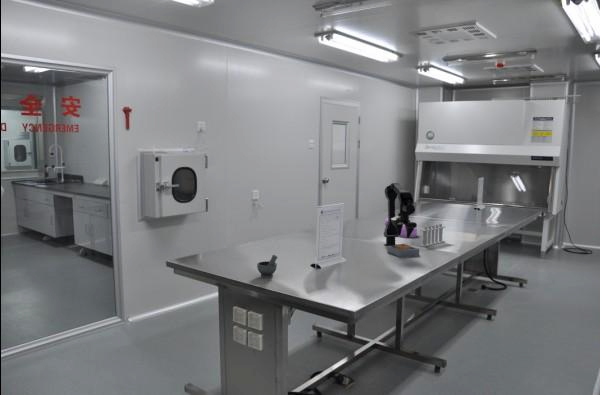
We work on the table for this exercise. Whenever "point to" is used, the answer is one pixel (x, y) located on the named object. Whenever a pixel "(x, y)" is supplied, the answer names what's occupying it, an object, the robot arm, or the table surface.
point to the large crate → (402, 251)
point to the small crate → (403, 247)
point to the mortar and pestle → (267, 267)
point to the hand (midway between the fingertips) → (403, 236)
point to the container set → (404, 231)
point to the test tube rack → (432, 235)
